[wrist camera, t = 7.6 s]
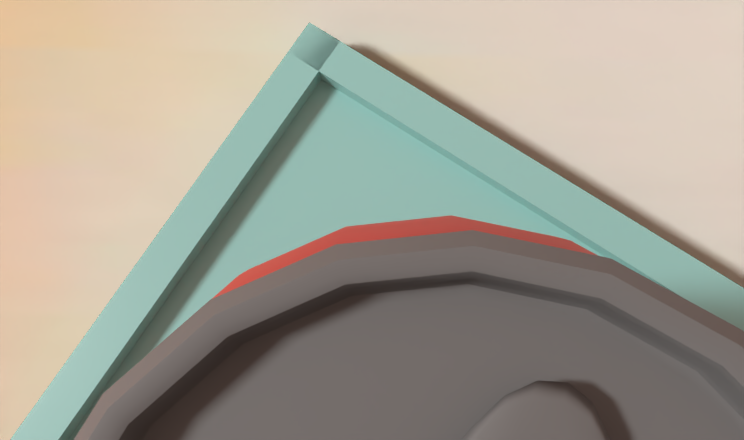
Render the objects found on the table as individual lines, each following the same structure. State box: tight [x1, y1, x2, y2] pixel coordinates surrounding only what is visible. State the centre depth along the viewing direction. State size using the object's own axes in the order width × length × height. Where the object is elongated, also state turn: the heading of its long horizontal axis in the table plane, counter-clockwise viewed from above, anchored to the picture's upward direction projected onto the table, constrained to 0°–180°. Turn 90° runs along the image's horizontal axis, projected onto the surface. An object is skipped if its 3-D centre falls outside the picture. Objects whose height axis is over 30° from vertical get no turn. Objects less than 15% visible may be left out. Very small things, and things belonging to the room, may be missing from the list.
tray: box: [10, 23, 744, 440], centre depth 16 cm, size 16×14×1 cm
